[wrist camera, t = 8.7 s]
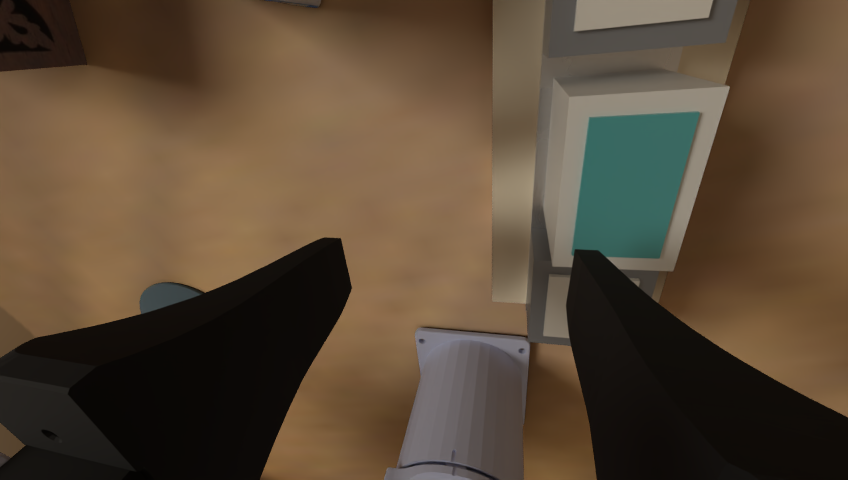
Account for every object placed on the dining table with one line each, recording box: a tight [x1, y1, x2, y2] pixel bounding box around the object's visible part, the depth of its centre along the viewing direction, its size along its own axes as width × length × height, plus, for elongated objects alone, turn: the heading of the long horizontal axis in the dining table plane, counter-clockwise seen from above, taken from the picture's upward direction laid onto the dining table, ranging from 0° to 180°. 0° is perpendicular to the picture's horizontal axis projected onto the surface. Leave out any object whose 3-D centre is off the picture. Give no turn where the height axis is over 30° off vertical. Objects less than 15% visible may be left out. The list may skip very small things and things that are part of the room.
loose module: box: [543, 69, 730, 271], centre depth 13 cm, size 6×4×5 cm, turn 6°
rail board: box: [492, 0, 750, 304], centre depth 16 cm, size 19×9×1 cm, turn 6°
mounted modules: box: [526, 0, 738, 346], centre depth 14 cm, size 18×5×3 cm, turn 6°
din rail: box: [526, 0, 683, 310], centre depth 16 cm, size 19×5×1 cm, turn 6°
